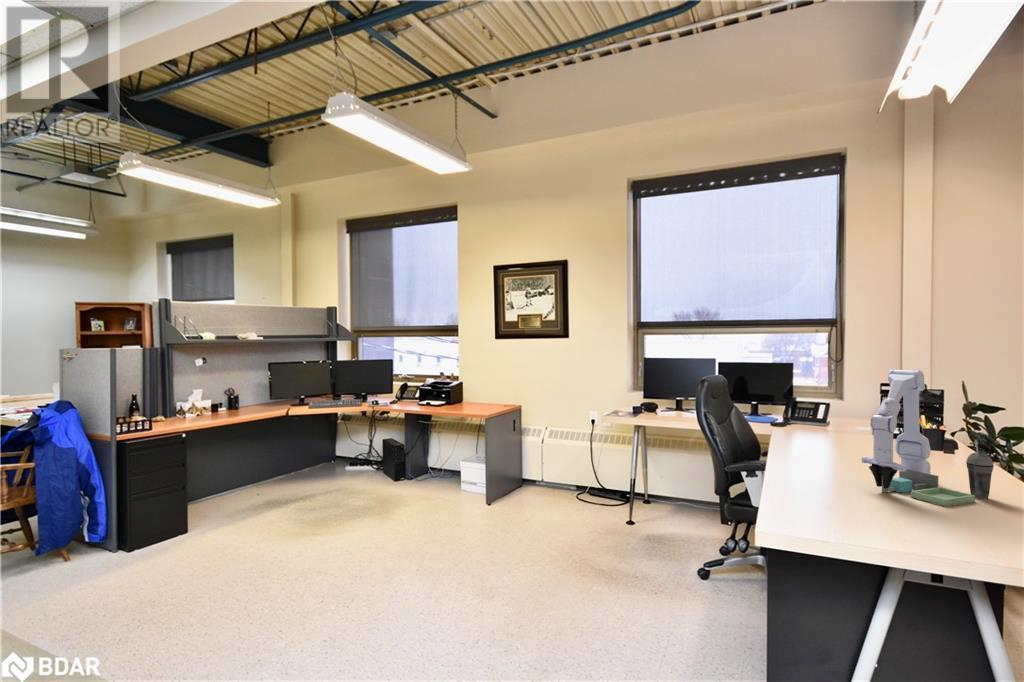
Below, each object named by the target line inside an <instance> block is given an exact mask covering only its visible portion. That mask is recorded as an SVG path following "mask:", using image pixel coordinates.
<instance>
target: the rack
mask: <svg viewBox="0 0 1024 682" xmlns="http://www.w3.org/2000/svg"><path fill="white" fill-rule="evenodd" d="M898 471H899V470H898ZM898 475H899V476H898V477H900V478H904V479H908V480H912V486H913V487H912V491H915V490H923V489H930V488H938V487H939V475H935V474H931V473H930V474H927V473H923V472H918V471H914V470H909V469H906V471H904V472H901V471H899V472H898Z"/></svg>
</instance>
